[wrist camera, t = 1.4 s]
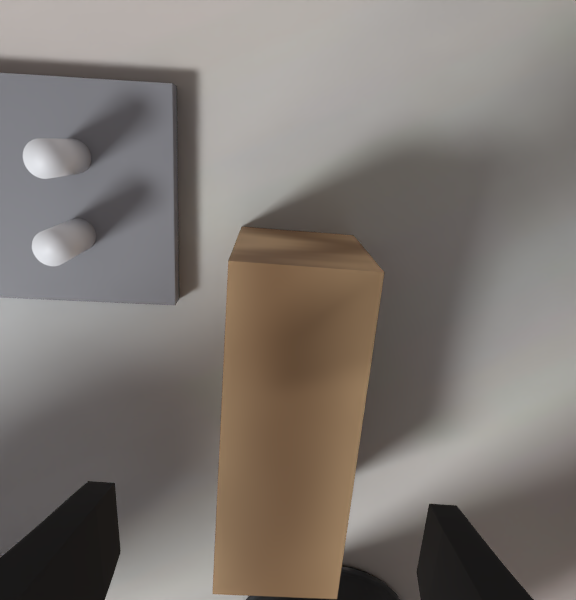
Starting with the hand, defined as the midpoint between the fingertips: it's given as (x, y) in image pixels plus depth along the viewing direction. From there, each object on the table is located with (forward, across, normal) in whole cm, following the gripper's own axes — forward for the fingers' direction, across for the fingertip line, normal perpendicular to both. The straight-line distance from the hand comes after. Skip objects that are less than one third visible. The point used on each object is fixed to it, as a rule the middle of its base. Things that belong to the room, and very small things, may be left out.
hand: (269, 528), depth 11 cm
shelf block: (+10, 0, +1) cm, 10 cm away
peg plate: (+10, +13, -6) cm, 17 cm away
